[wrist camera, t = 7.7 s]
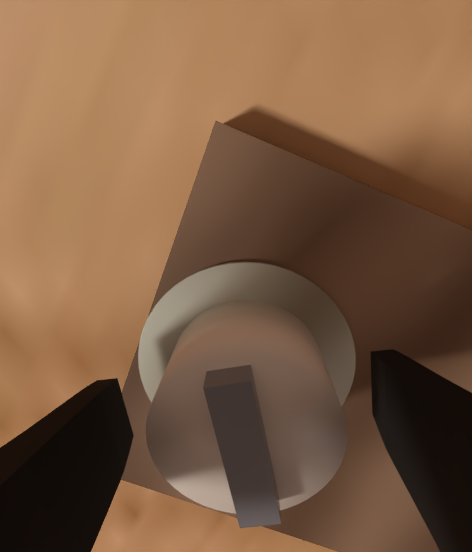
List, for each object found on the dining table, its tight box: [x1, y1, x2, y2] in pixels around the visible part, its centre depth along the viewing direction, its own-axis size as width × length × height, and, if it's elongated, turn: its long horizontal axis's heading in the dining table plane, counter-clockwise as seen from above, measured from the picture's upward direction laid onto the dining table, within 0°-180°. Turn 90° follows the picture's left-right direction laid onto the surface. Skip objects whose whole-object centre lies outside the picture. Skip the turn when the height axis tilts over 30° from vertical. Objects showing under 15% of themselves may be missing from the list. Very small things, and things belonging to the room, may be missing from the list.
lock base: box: [121, 121, 472, 552], centre depth 11 cm, size 17×13×3 cm
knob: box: [146, 300, 348, 528], centre depth 9 cm, size 5×5×4 cm
